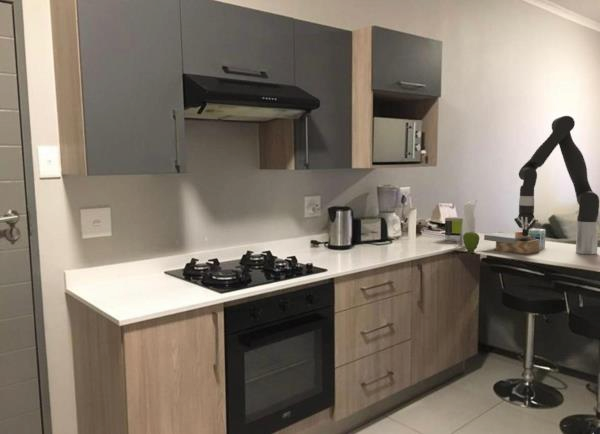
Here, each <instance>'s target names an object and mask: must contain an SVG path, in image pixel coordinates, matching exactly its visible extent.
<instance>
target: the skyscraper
mask: <svg viewBox="0 0 600 434" xmlns="http://www.w3.org/2000/svg"><path fill="white" fill-rule="evenodd" d="M472 201H473V199H470V200H468V201H467V202H463V203H462V207H463V208H462V209H463V216H462V217H463V222H462V225H461V232H460V241H459V246H460V247H461V248H466V247H465V244H464V240H463V236H462V234H463V235H464V234H465V233H466V232H474V233H476V232H475V231H476V218H475V208H476V204H477V201H478V200H477V199H474V201H475V203H472Z"/></svg>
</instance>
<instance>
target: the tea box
mask: <svg viewBox="0 0 600 434" xmlns="http://www.w3.org/2000/svg"><path fill="white" fill-rule="evenodd" d="M462 222H463V216H447V217H445V218H444V240H445V241H450V242H451V241H453V242H454V241H455V242H460V232H461V225H462ZM462 236H463V234H462Z"/></svg>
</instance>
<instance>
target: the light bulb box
mask: <svg viewBox="0 0 600 434" xmlns="http://www.w3.org/2000/svg"><path fill="white" fill-rule="evenodd" d="M546 230H547V229H545V228H534V227H533V228H531V229H529V235H528V236H530V239H539V240H540V242H539V251H540V250H543V249H545V247H546V233H547V232H546Z"/></svg>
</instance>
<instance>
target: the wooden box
mask: <svg viewBox="0 0 600 434" xmlns="http://www.w3.org/2000/svg"><path fill="white" fill-rule="evenodd" d="M539 242H540V240H539V239H530V238H526V239H520V240H516V244H511V243H504V242H496V241H495V251H496V252H504V253H511V254H515V255H516V254H517V255H524V256H527V255H533V254H536V253H537V254H538V253H540V250H539Z"/></svg>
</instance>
